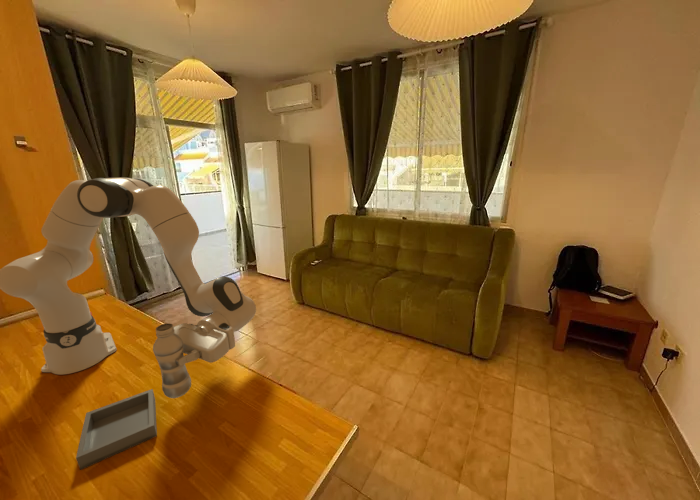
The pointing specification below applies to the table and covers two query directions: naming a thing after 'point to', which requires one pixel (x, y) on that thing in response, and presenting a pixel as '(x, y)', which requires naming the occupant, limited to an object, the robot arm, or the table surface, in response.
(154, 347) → the plastic bottle
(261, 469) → the table surface
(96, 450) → the box
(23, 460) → the table surface
